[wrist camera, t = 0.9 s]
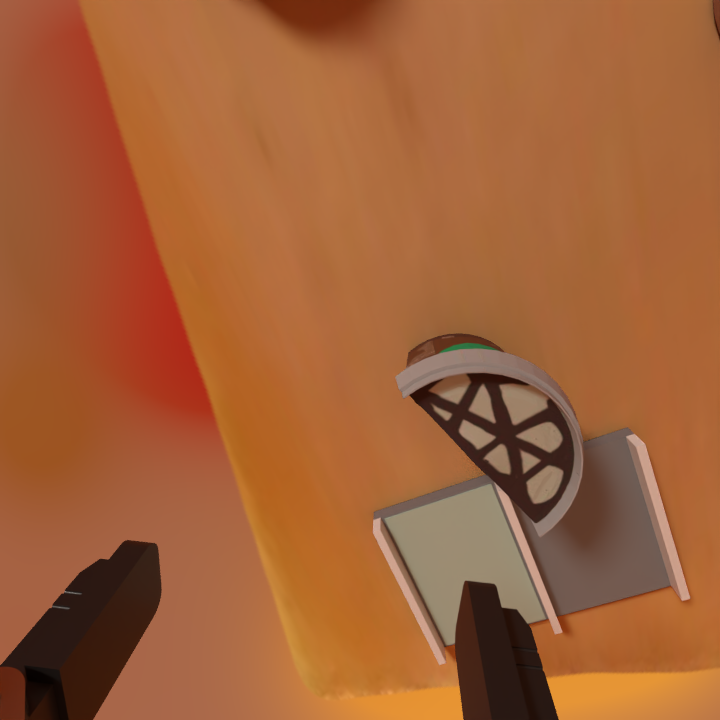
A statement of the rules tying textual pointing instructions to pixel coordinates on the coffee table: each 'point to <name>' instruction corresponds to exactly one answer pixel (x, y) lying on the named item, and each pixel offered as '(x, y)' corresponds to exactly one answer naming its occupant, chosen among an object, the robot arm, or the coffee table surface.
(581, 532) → the sorting board
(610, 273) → the coffee table surface
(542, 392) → the food container
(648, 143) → the coffee table surface
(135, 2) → the coffee table surface
